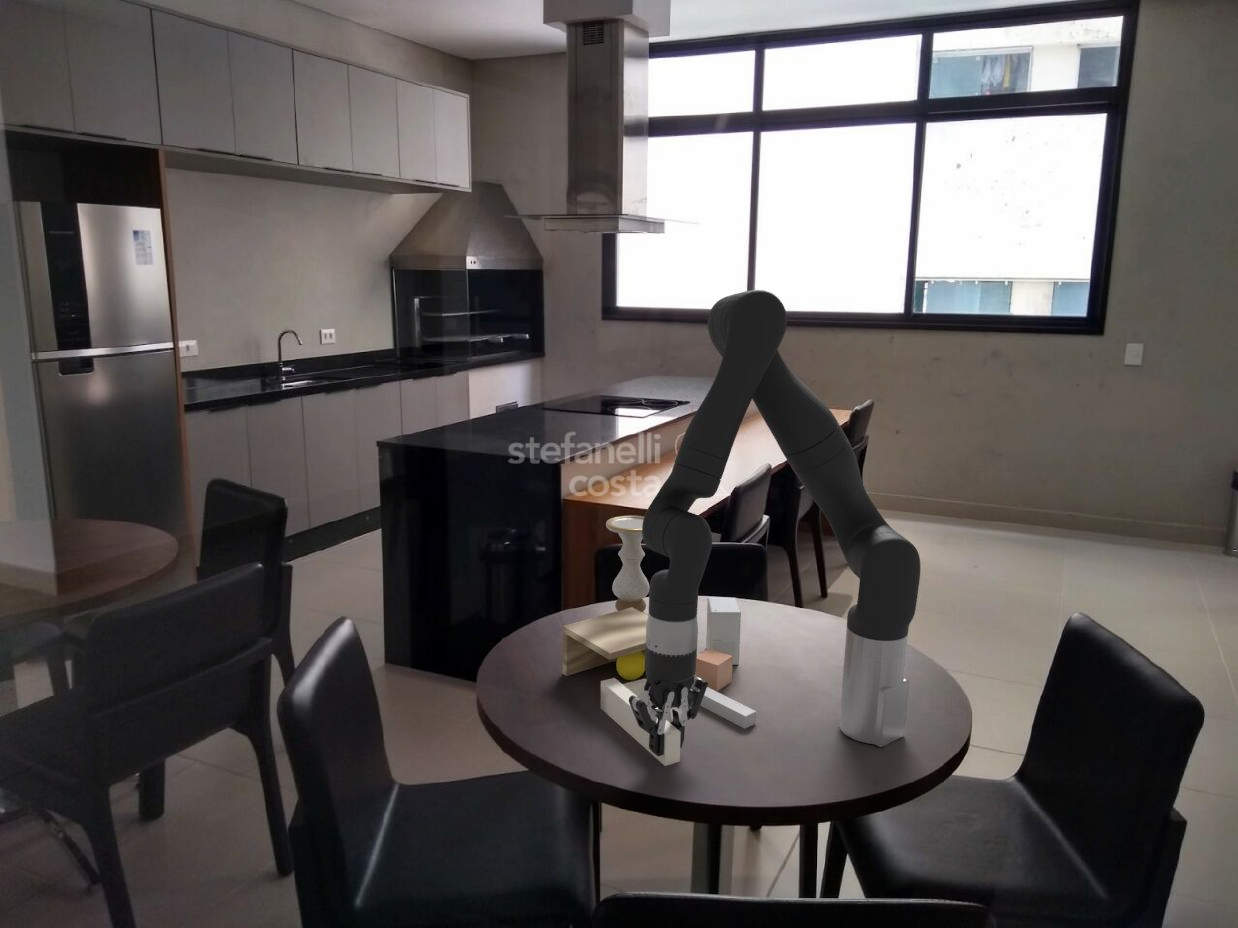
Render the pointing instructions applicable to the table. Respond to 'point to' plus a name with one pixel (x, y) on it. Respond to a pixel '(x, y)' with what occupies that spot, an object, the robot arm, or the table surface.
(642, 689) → the white bar
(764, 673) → the table surface
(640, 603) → the candle holder
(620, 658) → the lemon
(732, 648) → the small box
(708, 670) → the terracotta block
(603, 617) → the cubby
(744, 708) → the grey stick
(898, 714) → the robot arm
